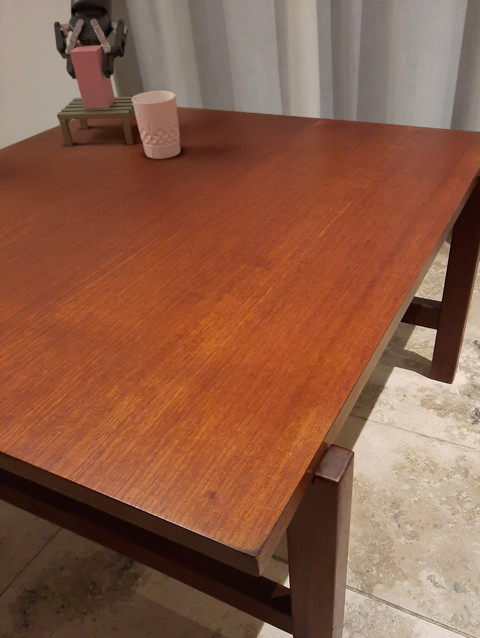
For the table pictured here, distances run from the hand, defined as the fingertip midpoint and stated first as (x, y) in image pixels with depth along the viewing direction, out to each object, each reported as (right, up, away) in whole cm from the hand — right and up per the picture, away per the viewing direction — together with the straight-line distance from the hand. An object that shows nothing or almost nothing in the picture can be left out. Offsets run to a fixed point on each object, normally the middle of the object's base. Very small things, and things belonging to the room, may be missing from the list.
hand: (90, 75), depth 106 cm
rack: (0, -8, +9) cm, 12 cm away
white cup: (+14, -15, 0) cm, 21 cm away
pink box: (0, -3, +5) cm, 6 cm away
